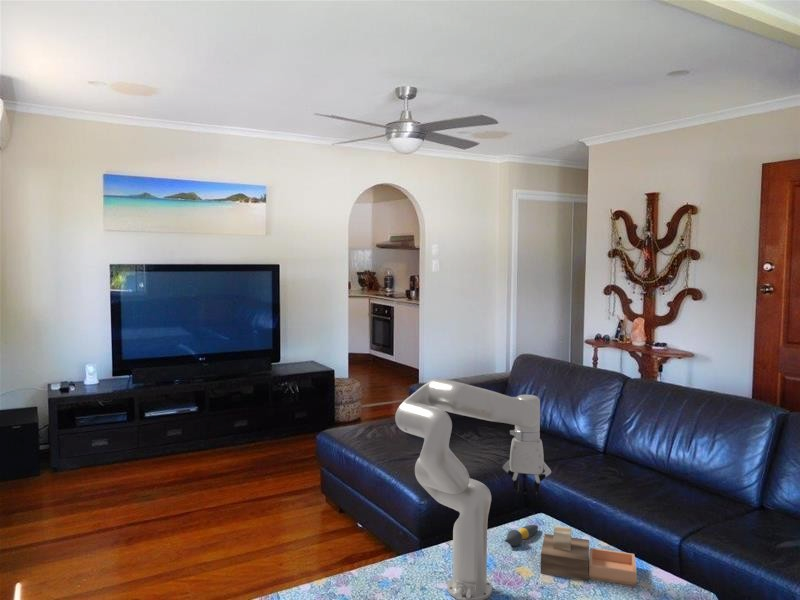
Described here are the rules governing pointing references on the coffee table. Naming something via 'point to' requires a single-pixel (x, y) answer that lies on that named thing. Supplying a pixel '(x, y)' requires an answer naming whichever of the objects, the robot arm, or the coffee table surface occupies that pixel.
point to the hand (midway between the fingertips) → (526, 492)
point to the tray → (612, 567)
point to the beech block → (562, 538)
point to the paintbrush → (520, 534)
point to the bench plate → (565, 559)
